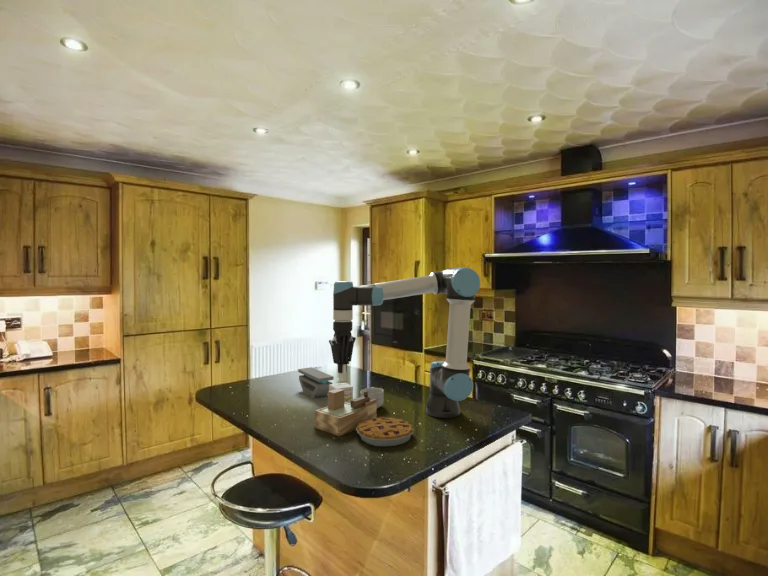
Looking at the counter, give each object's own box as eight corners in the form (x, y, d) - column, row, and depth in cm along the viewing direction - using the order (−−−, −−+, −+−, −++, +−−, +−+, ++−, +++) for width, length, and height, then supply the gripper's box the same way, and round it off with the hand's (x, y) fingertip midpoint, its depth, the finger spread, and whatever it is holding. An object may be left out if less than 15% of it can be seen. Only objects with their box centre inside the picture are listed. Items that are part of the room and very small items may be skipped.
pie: (368, 452, 146) (368, 438, 146) (348, 431, 166) (348, 418, 166) (424, 443, 155) (424, 429, 155) (398, 423, 175) (398, 411, 175)
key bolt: (369, 403, 177) (369, 391, 177) (355, 408, 170) (355, 396, 170) (365, 402, 178) (365, 390, 178) (350, 407, 171) (350, 395, 171)
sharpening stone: (333, 398, 209) (333, 376, 209) (319, 401, 204) (319, 378, 204) (311, 387, 229) (311, 367, 229) (298, 389, 225) (298, 369, 225)
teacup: (380, 411, 189) (381, 394, 189) (357, 410, 191) (357, 392, 191) (386, 402, 203) (387, 386, 202) (364, 401, 205) (365, 384, 205)
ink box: (335, 414, 185) (335, 388, 184) (328, 409, 192) (328, 383, 192) (353, 412, 188) (353, 386, 188) (345, 406, 196) (346, 381, 196)
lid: (361, 410, 172) (361, 391, 172) (339, 418, 162) (340, 398, 162) (342, 405, 179) (342, 386, 178) (320, 412, 169) (320, 393, 169)
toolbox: (378, 420, 178) (378, 399, 178) (339, 436, 160) (339, 413, 160) (353, 413, 187) (353, 393, 186) (314, 427, 169) (314, 406, 168)
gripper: (347, 318, 172) (346, 376, 173) (323, 321, 162) (323, 382, 163) (361, 320, 167) (360, 379, 168) (337, 322, 157) (337, 385, 158)
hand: (342, 380), depth 165 cm, fingers closed
